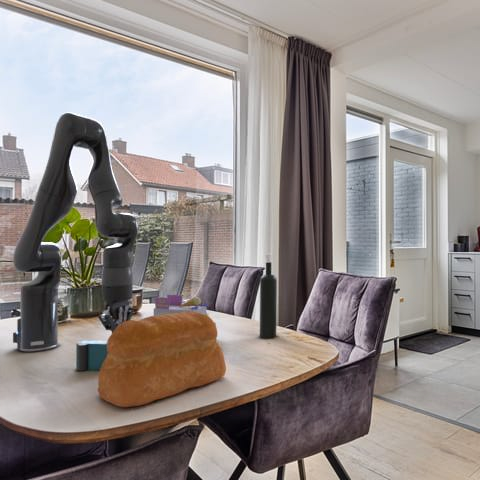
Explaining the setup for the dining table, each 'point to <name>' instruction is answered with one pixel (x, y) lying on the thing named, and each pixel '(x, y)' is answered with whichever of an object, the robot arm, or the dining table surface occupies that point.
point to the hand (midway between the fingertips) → (117, 343)
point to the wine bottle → (268, 301)
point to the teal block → (90, 355)
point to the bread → (160, 358)
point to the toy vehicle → (178, 305)
